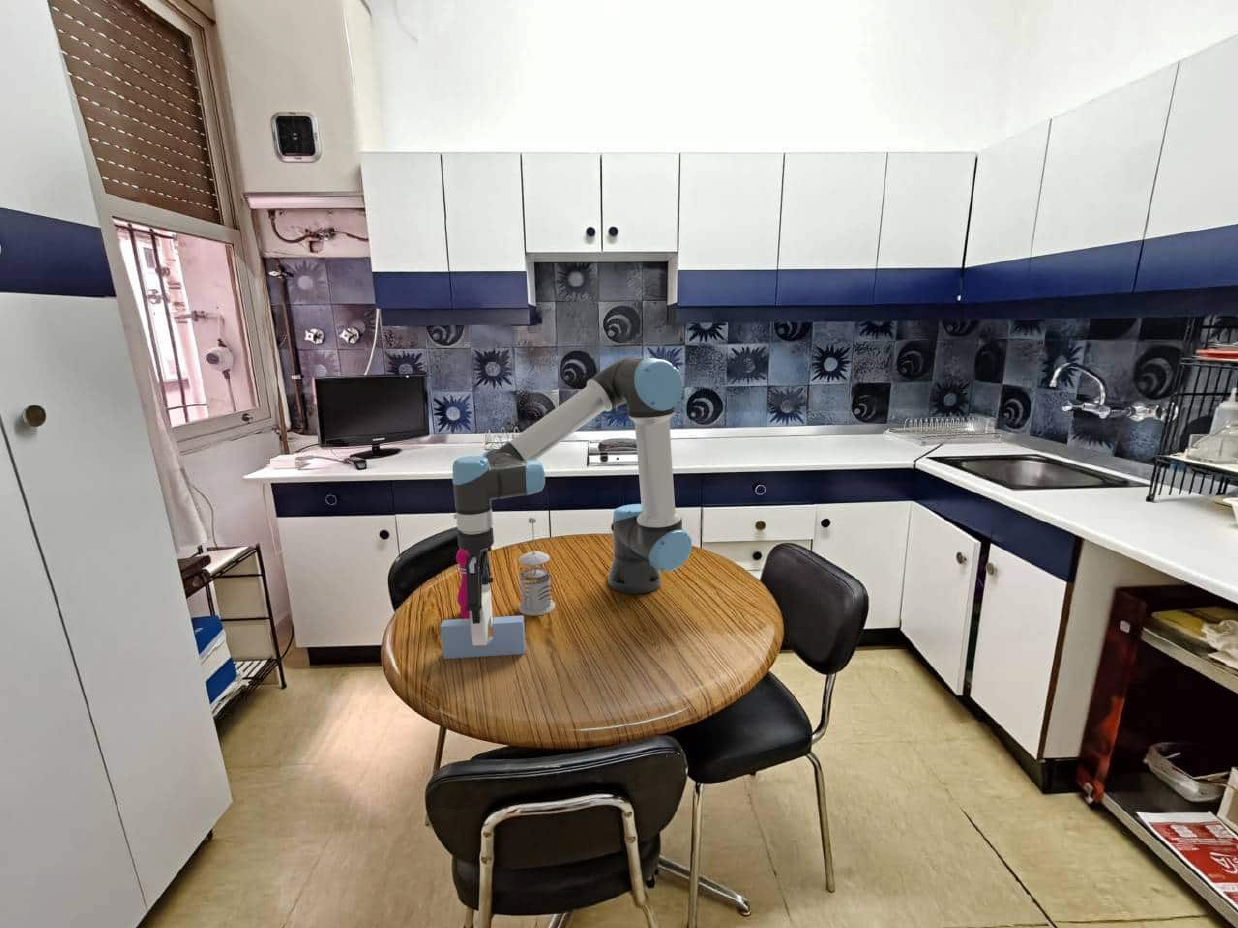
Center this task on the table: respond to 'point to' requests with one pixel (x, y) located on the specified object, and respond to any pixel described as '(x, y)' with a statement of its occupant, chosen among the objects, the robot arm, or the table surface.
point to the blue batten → (503, 642)
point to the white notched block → (485, 618)
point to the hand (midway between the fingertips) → (482, 621)
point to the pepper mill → (463, 582)
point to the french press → (535, 583)
